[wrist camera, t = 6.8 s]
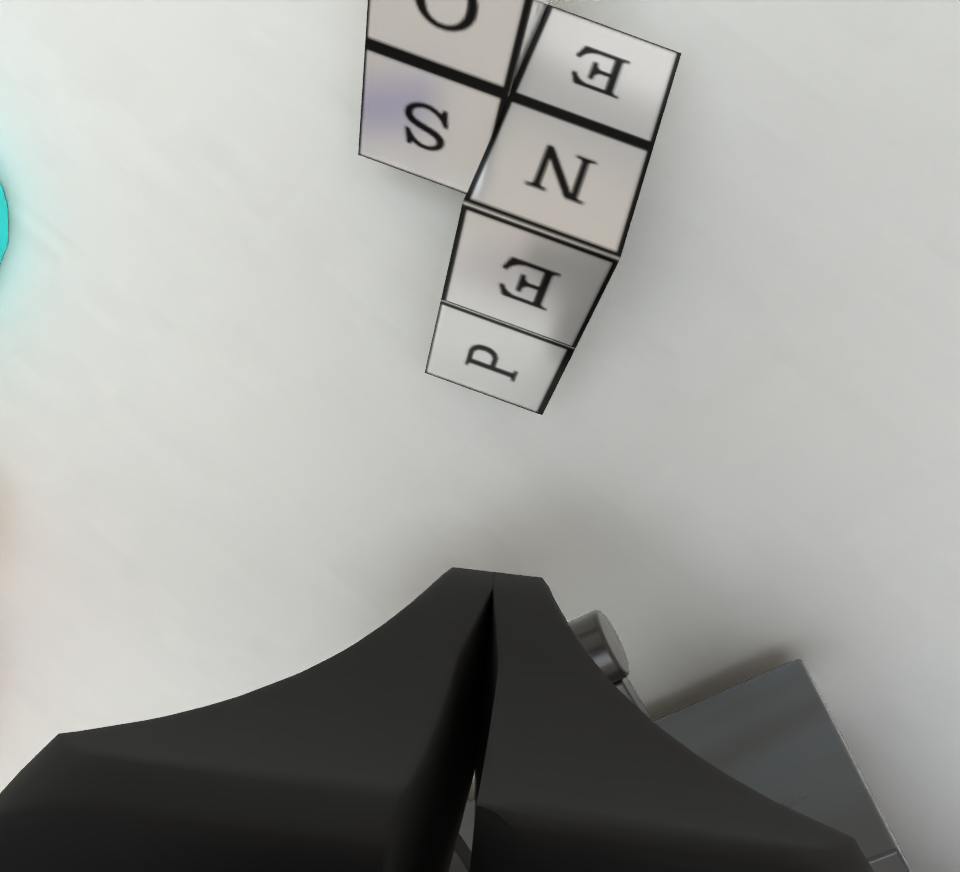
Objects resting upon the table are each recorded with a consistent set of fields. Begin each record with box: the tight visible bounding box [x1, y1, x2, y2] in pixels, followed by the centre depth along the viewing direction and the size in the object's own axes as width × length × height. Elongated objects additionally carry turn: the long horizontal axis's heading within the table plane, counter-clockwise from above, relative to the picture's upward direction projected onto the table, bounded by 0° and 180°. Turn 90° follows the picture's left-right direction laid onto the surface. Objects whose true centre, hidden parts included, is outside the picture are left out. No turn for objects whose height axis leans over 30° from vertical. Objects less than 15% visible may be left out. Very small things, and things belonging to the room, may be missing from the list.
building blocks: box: [358, 0, 681, 415], centre depth 16 cm, size 5×5×8 cm
